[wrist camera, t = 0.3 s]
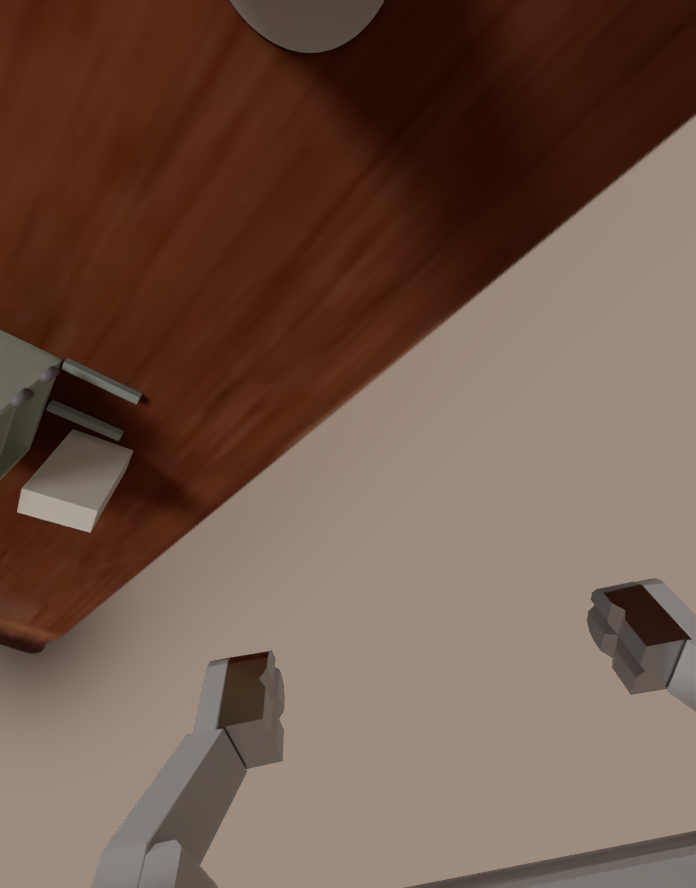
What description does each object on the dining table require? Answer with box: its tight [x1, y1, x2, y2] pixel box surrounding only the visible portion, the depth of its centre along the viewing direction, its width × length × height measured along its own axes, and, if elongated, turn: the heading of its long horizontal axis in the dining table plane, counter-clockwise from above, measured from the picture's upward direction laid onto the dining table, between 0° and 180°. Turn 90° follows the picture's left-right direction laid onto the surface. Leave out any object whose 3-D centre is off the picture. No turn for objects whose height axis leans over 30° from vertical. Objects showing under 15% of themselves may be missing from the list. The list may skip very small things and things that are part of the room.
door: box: [17, 429, 133, 532], centre depth 48 cm, size 7×4×11 cm, turn 60°
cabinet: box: [0, 330, 142, 480], centre depth 42 cm, size 18×15×14 cm
